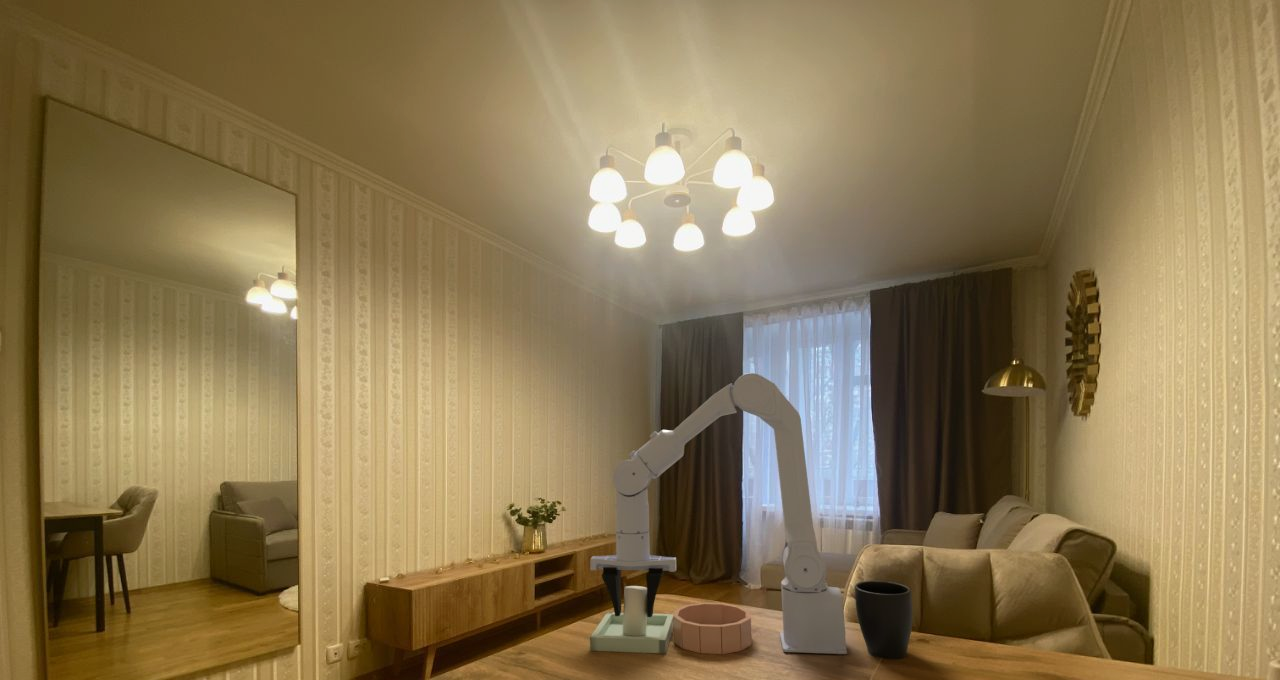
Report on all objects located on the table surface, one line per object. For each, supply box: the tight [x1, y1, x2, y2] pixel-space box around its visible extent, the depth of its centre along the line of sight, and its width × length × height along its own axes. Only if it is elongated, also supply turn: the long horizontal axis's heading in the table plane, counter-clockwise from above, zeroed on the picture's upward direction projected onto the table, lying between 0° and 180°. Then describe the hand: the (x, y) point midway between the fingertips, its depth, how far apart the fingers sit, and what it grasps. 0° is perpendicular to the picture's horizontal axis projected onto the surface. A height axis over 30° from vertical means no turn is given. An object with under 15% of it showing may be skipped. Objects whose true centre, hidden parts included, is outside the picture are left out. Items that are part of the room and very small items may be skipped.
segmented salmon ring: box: [672, 602, 753, 655], centre depth 100 cm, size 13×13×4 cm
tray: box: [589, 611, 674, 654], centre depth 101 cm, size 12×13×2 cm
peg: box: [622, 585, 648, 636], centre depth 102 cm, size 4×4×7 cm
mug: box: [854, 579, 914, 660], centre depth 95 cm, size 8×12×10 cm
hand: (634, 614), depth 102 cm, fingers open, 5 cm apart
